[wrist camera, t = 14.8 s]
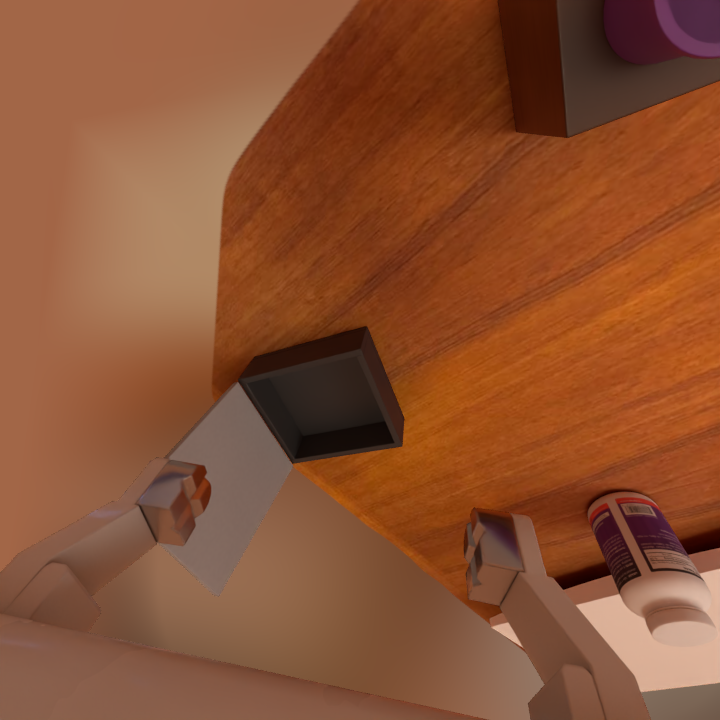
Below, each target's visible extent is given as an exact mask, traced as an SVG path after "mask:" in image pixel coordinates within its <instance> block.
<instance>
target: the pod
mask: <svg viewBox="0 0 720 720" xmlns="http://www.w3.org/2000/svg"><path fill="white" fill-rule="evenodd" d="M603 19H604V29H605V33H606V37H607V39H608V42H609V44H610V46H611V47H612V49H613V50H614V51H615V52H616V54H617V55H618V56H620V57H621V58H622V59H624V60H626V61H628V62H631V63H634V64H641V65H648V64H655V63H660V62H664V61H668V60H672V59H676V58H680V57H684V56H686V57H690V58H695V59H715V58H720V0H605V4H604V18H603Z"/></svg>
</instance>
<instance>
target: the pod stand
mask: <svg viewBox="0 0 720 720" xmlns="http://www.w3.org/2000/svg"><path fill="white" fill-rule="evenodd" d="M604 4H605V0H498V5H499V12H500V20H501V27H502V34H503V41H504V48H505V55H506V63H507V70H508V77H509V84H510V91H511V99H512V106H513V113H514V120H515V127H516V132H519V133H528V134H537V135H546V136H555V137H564V138H569V137H572V136H574V135H577V134H580V133H582V132H585V131H588V130H590V129H593V128H596V127H598V126H601V125H604V124H606V123H609V122H612V121H614V120H617V119H620V118H622V117H625V116H628V115H630V114H633V113H636V112H638V111H641V110H644V109H646V108H649V107H652V106H654V105H657V104H660V103H662V102H665V101H668V100H670V99H673V98H675V97H678V96H681V95H683V94H686V93H689V92H691V91H694V90H697V89H699V88H702V87H705V86H707V85H710V84H713V83H715V82H718V81H720V58H715V59H695V58H690V57H686V56H684V57H680V58H676V59H672V60H668V61H664V62H660V63H655V64H648V65H641V64H634V63H631V62H628V61H626V60H624V59H622V58H621V57H620V56H618V55H617V54H616V52H615V51H614V50H613V49H612V47H611V46H610V44H609V42H608V39H607V37H606V33H605V29H604V19H603V18H604Z"/></svg>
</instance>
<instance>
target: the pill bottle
mask: <svg viewBox="0 0 720 720" xmlns="http://www.w3.org/2000/svg"><path fill="white" fill-rule="evenodd" d="M588 520H589V523H590V525H591V527H592V530H593V532H594V534H595V537H596V539H597V542H598V544H599V546H600V549H601V551H602V553H603V556H604V558H605V560H606V563H607V565H608V567H609V570H610V572H611V575H612V577H613V579H614V582H615V584H616V587H617V589H618V591H619V594H620V596H621V598H622V601H623V602H624V604H625V605H626V607H627V608H628V609H629V610H630V611H632V612H633V613H635V614H636V615H638V616H640V617H642V618H644V619H645V622H646V625H647V627H648V629H649V631H650V633H651V635H652V637H653V638H654V639H655V640H656V641H657V642H659V643H662V644H665V645H669V646H676V647H692V646H699V645H703V644H706V643H709V642H711V641H713V640H714V639H715V638H716V637H717V636H718V631H717V629H716V627H715V625H714V623H713V621H712V620H711V618H710V617H709V616H708V614H707V613H706V611H707V610H708V609H709V607H710V605H711V601H712V596H711V592H710V590H709V588H708V587H707V585H706V583H705V582H704V580H703V578H702V577H701V575H700V574H699V572H698V571H697V569H696V567H695V566H694V564H693V563H692V561H691V559H690V558H689V556H688V554H687V553H686V551H685V550H684V548H683V546H682V545H681V543H680V541H679V540H678V538H677V537H676V535H675V533H674V532H673V530H672V528H671V527H670V525H669V524H668V522H667V520H666V519H665V517H664V515H663V514H662V512H661V510H660V509H659V507H658V506H657V505H656V503H655V502H654V501H653V500H651V499H650V498H648V497H646V496H644V495H642V494H639V493H634V492H616V493H611V494H608V495H605V496H603V497H601V498H599V499H597V500H596V501H595V502H594V503H593V504H592V505H591V506H590V508H589V510H588Z"/></svg>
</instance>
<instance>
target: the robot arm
mask: <svg viewBox="0 0 720 720" xmlns="http://www.w3.org/2000/svg"><path fill="white" fill-rule="evenodd" d="M206 474H207V471H206V468H205V465H199V464H193V463H188V462H182V461H176V460H171V459H165V458H159V457H156V458H155V459H153V460H152V461H150V462H149V464H148V465H147V466H146V467H145V469H144V470H143V471H142V472H141V473H140V475H139V476H138V477H137V478H136V479H135V481H134V482H133V483H132V484H131V486H130V487H129V488H128V489H127V490H126V491H125V493H124V494H123V495H122V496H121V498H120V499H119V500H118V501H112V502H110V503H108V504H106V505H104V506H103V507H101V508H99V509H97V510H96V511H94V512H92V513H90V514H88V515H86V516H85V517H83V518H81V519H79V520H77V521H76V522H74V523H72V524H70V525H69V526H67V527H65V528H63V529H61V530H59V531H58V532H56V533H54V534H52V535H51V536H49V537H47V538H45V539H44V540H42V541H40V542H38V543H36V544H34V545H33V546H31V547H29V548H27V549H26V550H24V551H22V552H20V553H19V554H18V555H16V557H15V558H14V559H13V560H12V561H11V562H10V563H9V564H8V565H7V566H6V567H5V568H4V569H3V570H2V571H1V572H0V720H487V719H483V718H478V717H473V716H469V715H464V714H460V713H455V712H450V711H446V710H441V709H436V708H432V707H427V706H423V705H418V704H414V703H409V702H404V701H400V700H395V699H391V698H386V697H381V696H377V695H372V694H368V693H363V692H359V691H354V690H350V689H345V688H340V687H336V686H331V685H326V684H322V683H318V682H313V681H308V680H304V679H299V678H294V677H290V676H286V675H281V674H276V673H272V672H267V671H263V670H258V669H253V668H249V667H244V666H240V665H235V664H231V663H226V662H221V661H216V660H212V659H208V658H203V657H198V656H193V655H189V654H185V653H180V652H176V651H171V650H166V649H162V648H157V647H153V646H148V645H144V644H139V643H134V642H130V641H125V640H120V639H116V638H111V637H107V636H102V635H97V634H93V633H89V631H90V629H91V628H92V626H93V625H94V623H95V622H96V620H97V618H98V617H99V616H100V614H101V610H100V607H99V606H98V604H97V603H96V602H95V600H94V599H93V598H92V597H91V596H93V595H94V594H95V593H96V592H98V591H99V590H100V589H101V588H103V587H104V586H105V585H106V584H108V583H109V582H110V581H111V580H112V579H114V578H115V577H116V576H118V575H119V574H120V573H121V572H123V571H124V570H125V569H126V568H128V567H129V566H130V565H132V564H133V563H134V562H135V561H136V560H138V559H139V558H140V557H141V556H142V555H144V554H145V553H147V552H148V551H149V550H150V549H152V548H153V547H154V546H155V545H156V544H157V543H164V544H170V545H177V546H183V547H184V545H185V544H186V542H187V540H188V538H189V537H190V535H191V533H192V532H193V530H194V528H195V526H196V523H195V518H196V517H198V516H199V515H201V514H202V513H204V511H205V509H206V507H207V505H208V503H209V500H210V497H211V484H210V482H209V481H208V480H207V479H206V478H205V475H206ZM470 518H471V522H470V523H468V524H467V526H466V529H465V534H464V558H465V559H466V561H467V562H468V563H469V567H468V569H467V572H466V581H467V592H468V599H470V600H475V601H479V602H484V603H489V604H494V605H498V606H500V609H501V611H502V612H503V614H504V616H505V618H506V619H507V621H508V623H509V624H510V626H511V628H512V630H513V631H514V633H515V635H516V636H517V638H518V640H519V641H520V643H521V645H522V647H523V648H524V650H525V652H526V653H527V655H528V657H529V659H530V660H531V662H532V664H533V665H534V667H535V669H536V670H537V672H538V673H539V676H540V677H541V679H542V681H543V682H544V684H545V685H544V686H543V687H542V688H541V690H540V691H539V692H538V693H537V694H536V695H535V696H534V697H533V698H532V700H531V701H530V702H529V703H528V707H529V713H530V719H531V720H651V718H650V716H649V713H648V710H647V707H646V705H645V702H644V700H643V697H642V694H641V691H640V689H639V686H638V683H637V681H636V678H635V676H634V674H633V673H632V672H631V671H630V670H629V668H628V667H627V666H626V665H625V664H624V662H623V661H622V660H621V659H620V658H619V656H618V655H617V654H616V653H615V652H614V650H613V649H612V648H611V647H610V646H609V644H608V643H607V642H606V641H605V640H604V638H603V637H602V636H601V635H600V634H599V632H598V631H597V630H596V629H595V628H594V626H593V625H592V624H591V623H590V622H589V620H588V619H587V618H586V617H585V616H584V614H583V613H582V612H581V611H580V610H579V608H578V607H577V606H576V605H575V604H574V602H573V601H572V600H571V599H570V598H569V596H568V595H567V594H566V593H565V592H564V590H563V589H562V588H561V587H560V586H559V584H558V583H557V582H556V581H555V580H554V578H552V577H548V576H547V575H546V571H545V568H544V564H543V560H542V556H541V553H540V549H539V545H538V542H537V538H536V534H535V530H534V527H533V523H532V520H531V518H530V517H529V516H527V515H520V514H512V513H509V512H503V511H496V510H489V509H482V508H475V507H474V508H473V509H472V511H471V514H470ZM156 542H157V543H156Z"/></svg>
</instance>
